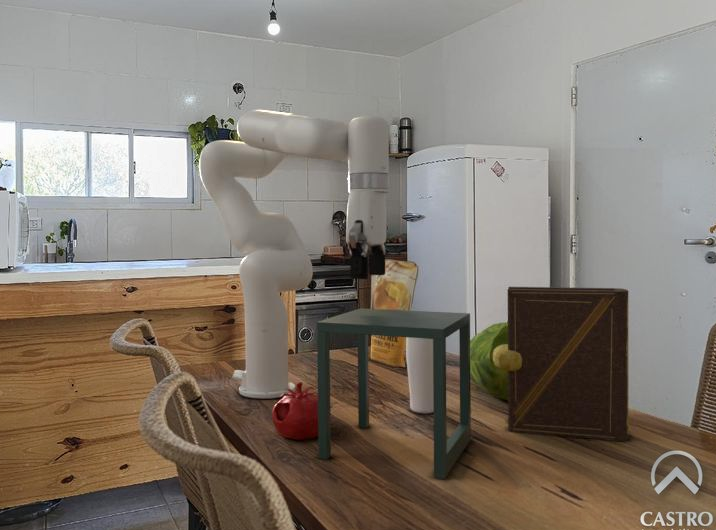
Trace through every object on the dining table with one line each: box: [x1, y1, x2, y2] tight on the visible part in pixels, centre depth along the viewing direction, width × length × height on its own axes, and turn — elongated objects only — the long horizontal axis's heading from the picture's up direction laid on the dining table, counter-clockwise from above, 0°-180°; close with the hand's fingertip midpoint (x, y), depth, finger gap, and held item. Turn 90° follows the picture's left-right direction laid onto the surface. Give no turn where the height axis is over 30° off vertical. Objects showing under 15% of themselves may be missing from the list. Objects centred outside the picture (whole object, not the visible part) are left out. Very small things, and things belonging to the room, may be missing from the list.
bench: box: [316, 307, 472, 480], centre depth 97 cm, size 20×18×22 cm
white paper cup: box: [405, 337, 434, 414], centre depth 118 cm, size 7×7×15 cm
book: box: [493, 286, 629, 442], centre depth 105 cm, size 22×8×25 cm, turn 71°
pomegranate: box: [271, 381, 319, 441], centre depth 105 cm, size 10×10×9 cm
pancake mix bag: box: [370, 258, 419, 368], centre depth 163 cm, size 7×19×28 cm, turn 28°
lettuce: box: [470, 321, 508, 402], centre depth 129 cm, size 17×23×16 cm
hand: (368, 276), depth 112 cm, fingers open, 9 cm apart
